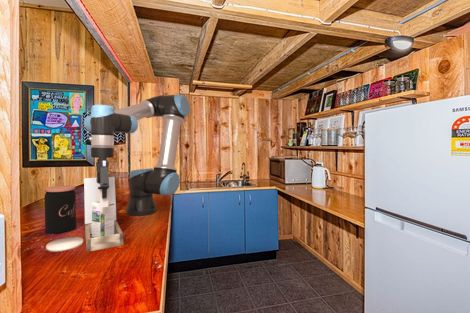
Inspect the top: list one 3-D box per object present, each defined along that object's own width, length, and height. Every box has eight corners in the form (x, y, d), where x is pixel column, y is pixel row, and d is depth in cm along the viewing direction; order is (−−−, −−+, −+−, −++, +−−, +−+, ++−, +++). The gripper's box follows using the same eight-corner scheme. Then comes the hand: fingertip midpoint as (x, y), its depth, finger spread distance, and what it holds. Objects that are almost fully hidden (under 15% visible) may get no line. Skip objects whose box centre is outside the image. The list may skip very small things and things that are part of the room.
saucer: (82, 237, 98) (82, 235, 98) (83, 247, 88) (83, 245, 88) (47, 242, 92) (47, 240, 92) (44, 254, 82) (44, 251, 82)
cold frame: (116, 229, 106) (116, 220, 106) (123, 244, 91) (123, 234, 91) (85, 234, 100) (84, 224, 100) (86, 251, 85) (86, 240, 85)
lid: (116, 219, 106) (115, 219, 107) (114, 176, 109) (114, 177, 111) (84, 224, 100) (84, 224, 101) (84, 178, 103) (84, 178, 104)
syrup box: (90, 241, 94) (90, 202, 93) (104, 235, 99) (103, 199, 99) (102, 243, 92) (102, 204, 91) (115, 238, 97) (115, 201, 97)
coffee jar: (60, 235, 99) (59, 190, 98) (38, 233, 101) (37, 188, 100) (82, 227, 109) (81, 186, 108) (61, 225, 111) (60, 184, 110)
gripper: (89, 146, 102) (89, 198, 103) (92, 147, 81) (92, 211, 82) (109, 146, 106) (109, 196, 107) (118, 147, 85) (117, 209, 86)
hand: (102, 203), depth 95 cm, fingers open, 13 cm apart
